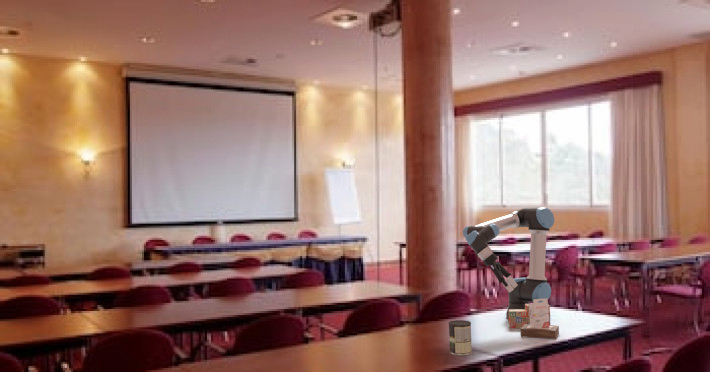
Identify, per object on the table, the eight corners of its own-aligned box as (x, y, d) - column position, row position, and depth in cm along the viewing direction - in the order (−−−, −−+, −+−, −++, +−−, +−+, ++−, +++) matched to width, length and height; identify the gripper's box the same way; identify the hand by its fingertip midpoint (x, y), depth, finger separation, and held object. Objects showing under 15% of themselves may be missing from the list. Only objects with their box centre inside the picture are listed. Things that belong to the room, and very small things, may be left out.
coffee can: (445, 353, 293) (444, 323, 294) (456, 349, 301) (455, 319, 302) (465, 356, 287) (463, 325, 287) (476, 351, 295) (475, 321, 295)
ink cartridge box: (544, 325, 328) (543, 296, 328) (549, 327, 323) (548, 298, 323) (529, 326, 326) (528, 298, 326) (534, 328, 321) (533, 299, 321)
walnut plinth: (525, 331, 334) (525, 323, 334) (558, 333, 327) (558, 325, 327) (520, 336, 322) (520, 328, 322) (555, 338, 315) (555, 330, 315)
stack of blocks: (510, 328, 343) (509, 305, 344) (508, 326, 350) (508, 303, 350) (550, 328, 341) (549, 305, 341) (548, 325, 347) (547, 303, 347)
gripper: (487, 258, 351) (512, 289, 345) (477, 263, 328) (504, 297, 322) (497, 249, 348) (523, 281, 343) (488, 255, 325) (515, 288, 320)
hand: (513, 288), depth 333 cm, fingers open, 13 cm apart
